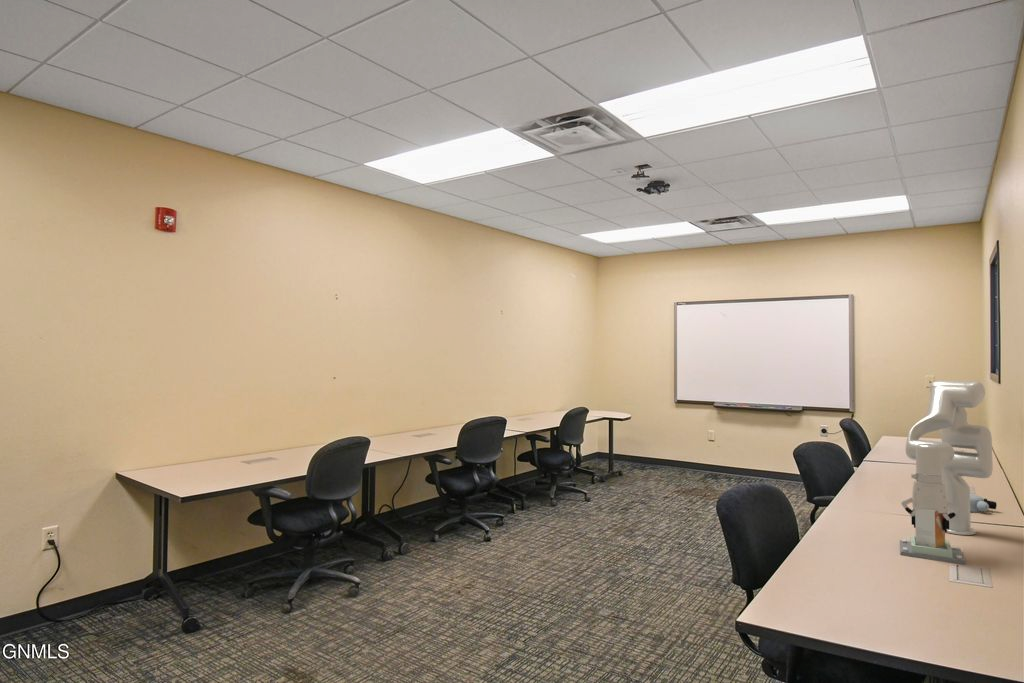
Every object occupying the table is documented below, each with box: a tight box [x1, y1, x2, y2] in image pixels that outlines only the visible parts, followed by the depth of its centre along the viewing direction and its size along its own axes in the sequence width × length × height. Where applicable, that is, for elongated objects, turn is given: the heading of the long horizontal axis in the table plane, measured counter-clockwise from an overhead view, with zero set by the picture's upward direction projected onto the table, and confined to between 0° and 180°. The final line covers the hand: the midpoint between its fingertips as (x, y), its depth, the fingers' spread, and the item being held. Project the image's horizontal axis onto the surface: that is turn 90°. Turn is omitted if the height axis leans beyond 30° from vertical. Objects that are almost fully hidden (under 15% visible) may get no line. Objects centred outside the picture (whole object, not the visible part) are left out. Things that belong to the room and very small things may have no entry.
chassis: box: [899, 535, 966, 565], centre depth 207 cm, size 15×18×4 cm
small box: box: [914, 508, 946, 548], centre depth 207 cm, size 8×6×13 cm
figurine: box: [970, 492, 997, 513], centre depth 267 cm, size 17×8×20 cm
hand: (930, 528), depth 207 cm, fingers closed on small box, 8 cm apart
